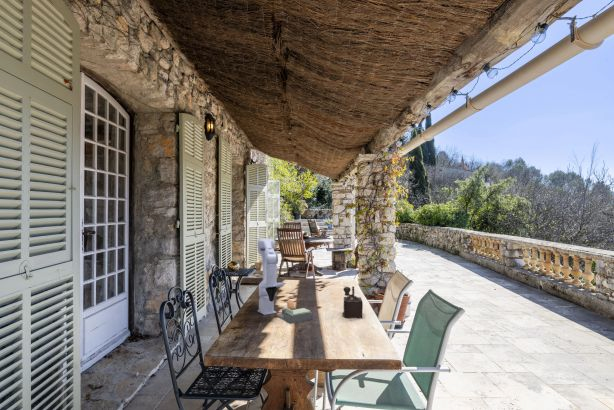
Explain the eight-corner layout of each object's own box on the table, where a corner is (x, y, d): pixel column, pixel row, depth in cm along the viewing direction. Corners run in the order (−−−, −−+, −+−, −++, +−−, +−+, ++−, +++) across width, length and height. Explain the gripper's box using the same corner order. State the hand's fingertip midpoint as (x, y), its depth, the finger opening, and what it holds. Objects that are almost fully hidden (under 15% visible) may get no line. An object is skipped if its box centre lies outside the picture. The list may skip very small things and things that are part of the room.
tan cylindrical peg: (285, 313, 200) (285, 301, 200) (291, 312, 202) (292, 300, 202) (289, 315, 197) (289, 302, 197) (295, 314, 199) (295, 302, 199)
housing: (276, 316, 199) (276, 309, 199) (297, 312, 207) (297, 306, 207) (291, 323, 186) (291, 317, 186) (312, 319, 193) (312, 312, 193)
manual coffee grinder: (342, 312, 207) (342, 281, 207) (361, 313, 206) (361, 282, 206) (343, 320, 191) (343, 287, 191) (363, 321, 190) (363, 288, 191)
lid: (285, 312, 192) (285, 308, 192) (303, 309, 199) (303, 304, 199) (291, 315, 187) (291, 310, 187) (310, 312, 193) (310, 307, 193)
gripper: (262, 278, 184) (262, 304, 184) (286, 275, 192) (286, 300, 192) (256, 276, 190) (256, 301, 190) (280, 273, 198) (280, 298, 198)
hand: (271, 301), depth 191 cm, fingers closed
